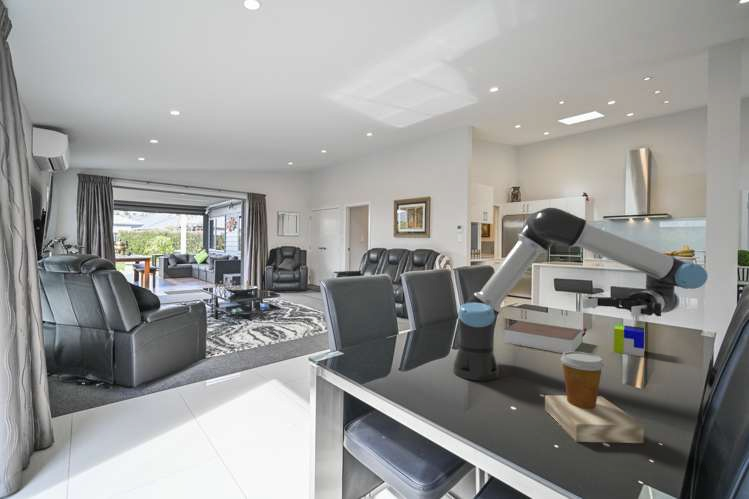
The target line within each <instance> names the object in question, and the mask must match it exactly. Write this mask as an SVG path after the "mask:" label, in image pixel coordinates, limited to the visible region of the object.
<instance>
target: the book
mask: <svg viewBox="0 0 749 499" xmlns="http://www.w3.org/2000/svg"><path fill="white" fill-rule="evenodd" d="M502 330H503V343H505V344H509V345H510V344H511V345H515V346H520V345H521V347H525V348H526V347H527V348H531V347H532V349H538V350H543V351H548V352H553V353H559V354H563V353H564V352H570V351H572V352H576V350H577V349H578V348H579V346H581V344H583V336H584V335H583V332H584V331H583V329H580V328H573V327H567V326H566V327H565V326H560V325H551V324H544V323H539V322H532V321H523V320H518V321H516V322H514V323H513V324H510V325H509V326H507V327H505V328H502Z"/></svg>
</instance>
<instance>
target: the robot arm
mask: <svg viewBox="0 0 749 499" xmlns="http://www.w3.org/2000/svg"><path fill="white" fill-rule="evenodd" d="M517 237H518V241H517V242H516V244H515V245H514V246H513V247H512V248H511V250H510V251H509V253H508V254H507V255H506V257H505V258H504V259H503V260H502V262H501V263H500V265H499V266H498V267H497V269H495V271H494V273H493V274H492V275H491V277H490V278H489V279H488V281H487V282H486V283H485V285H484V286H483V287H482V288H481V290H480V291H477V292H476V291H475V292H474V293H473V294H472V295H471V296H470V297H469V298H468V300H467V302H465V303H462V304H461V305H460V306H459V308H458V309H459V310H458V350H457V352H456V356H455V359H454V361H453V364H452V365H453V368H452V369H453V370H452V371H453V373H454V374H455V375H457V376H458V377H461V378H462V379H466V380H470V381H477V382H478V381H479V382H487V381H494V380H496V379H498V378H499V374H500V373H499V371H500V370H499V369H500V368H499V366H498V363H497V359H496V356H495V352H494V348H495V347H494V345H495V344H494V342H495V340H494V339H495V336H494V335H495V319H496V318H497V317H498V315H499V314H500V313H501V308H500V305H501V304H502V303H503V302H504V300H505V299H506V298H507V296H508V295H509V294H510V293H511V291H512V290H513V289H514V288H515V286H516V285H517V283H518V282H519V281H520V280H521V279H522V277H523V276H524V274H525V273H526V272H527V270H528V269H529V268H530V266H531V265H532V264H533V263H534V262H535V260H536V259H537V257H538V256H539V255H540V254H544V253H547V252H548V251H549V249H550V248H551V247H552V245H553V244H554V243H558V244H562V245H564V246H567V247H570V248H573V247H578V248H580V249H584V250H586V251H587V252H591V253H593V254H596V255H597V256H600V257H603V258H606V259H609V260H611V261H613V262H615V263H618V264H621V265H623V266H626V267H629V268H631V269H634V270H636V271H638V272H641V273H644V274H645V277H646V278H645V279H646V280H645V290H643V291H634V292H631V293H630V294H629V295H628V296H625V297H617V296H611V297H610V296H609V297H608V296H606V297H603V296H588V298H583V299H582V308H583V309H590V308H591V309H596V308H598V307H610V308H615V309H619V310H627V311H629V312H630V313H631V314H630V317H634V318H635V317H636V318H637V317H641V316H642V317H643V316H647V317H648V316H653V315H655V316H656V317H662V314H663V313H666V314H667V313H668V312H669V313H670V312H673V310H676V309H677V308H678V307H679V305H680V298H679V296H678V294H676V292H675V287H677V288H682V289H686V290H687V289H688V290H690V289H691V290H692V289H693V290H695V289H699V288H701V287H702V286H704V285H705V284H706V282H707V280H708V272H707V270H706V269H705V267H703V266H702V265H700V264H698V263H694V262H686V261H683V260H681V259H678V258H676V257H675V256H674V255H667V254H665V253H663V252H660V251H657V250H654V249H652V248H649V247H647V246H644V245H642V244H639V243H636V242H635V241H631V240H629V239H626V238H624V237H621V236H619V235H616V234H614V233H611V232H609V231H606V230H603V229H601V228H598V227H596V226H593V225H590V224H589V223H588V221H587V220H586V219H584V218H581V217H579V216H577V215H574V214H572V213H570V212H568V211H566V210H563V209H561V208H558V207H546V208H542V209H541V210H537V211H535V212H533V213H532V214H531V215H530V216H529V217H528V218H527V219H526V221H525V224H524V226H523V227H522V228H521V230H519V232H518V234H517Z"/></svg>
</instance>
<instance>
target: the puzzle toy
mask: <svg viewBox="0 0 749 499" xmlns="http://www.w3.org/2000/svg"><path fill="white" fill-rule="evenodd" d="M613 353H617V354H622V355H629V356H634V357H641V358H642V357H643V358H645V327H641V326H632V325H623V324H615V325H614V329H613Z"/></svg>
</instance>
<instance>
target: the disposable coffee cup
mask: <svg viewBox="0 0 749 499" xmlns="http://www.w3.org/2000/svg"><path fill="white" fill-rule="evenodd" d="M560 361H561V363H562V368H563V377H564V384H565V385H564V386H565V392H566V396H567V401H568V402H569V403H570V404H572V405H574V406H577V407H581V408H589V409H590V408H595V407H596V401H597V396H598V394H599V388H600V381H601V375H602V369H603V368H604V366H605V364H604V362H603V360H602V357H600V356H598V355H596V354H593V353H590V352H589V353H588V352H582V351H574V352H572V351H570V352H564V353H562V356H560Z"/></svg>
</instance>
